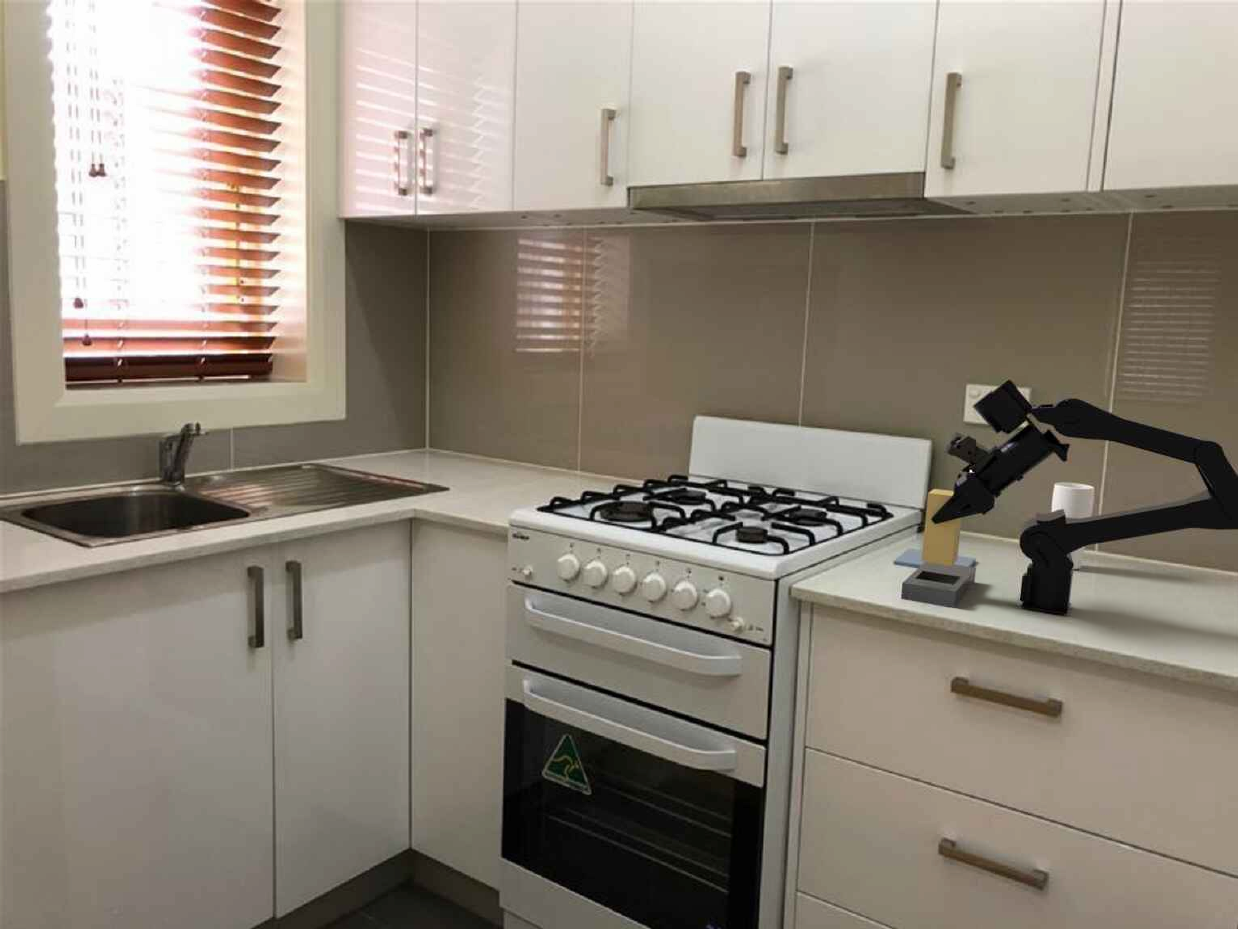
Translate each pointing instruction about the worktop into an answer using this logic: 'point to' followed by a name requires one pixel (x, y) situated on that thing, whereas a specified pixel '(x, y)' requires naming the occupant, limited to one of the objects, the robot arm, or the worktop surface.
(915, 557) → the slate mat
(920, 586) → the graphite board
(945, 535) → the mustard block
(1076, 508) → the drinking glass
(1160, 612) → the worktop surface
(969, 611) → the worktop surface
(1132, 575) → the worktop surface
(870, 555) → the worktop surface
